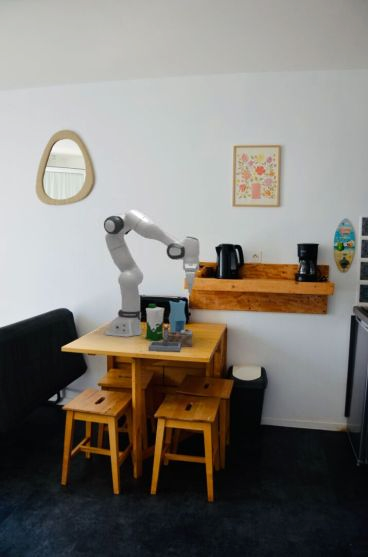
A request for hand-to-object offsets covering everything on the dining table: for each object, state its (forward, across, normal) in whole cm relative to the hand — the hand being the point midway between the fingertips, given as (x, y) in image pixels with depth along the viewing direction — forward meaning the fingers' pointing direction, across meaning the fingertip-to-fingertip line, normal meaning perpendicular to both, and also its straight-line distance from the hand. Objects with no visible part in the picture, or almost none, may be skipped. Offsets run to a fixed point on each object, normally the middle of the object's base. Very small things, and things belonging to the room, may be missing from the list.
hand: (190, 291), depth 227 cm
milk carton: (+29, -6, -20) cm, 36 cm away
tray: (+29, +14, -12) cm, 34 cm away
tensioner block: (+29, +4, -5) cm, 30 cm away
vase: (+29, -20, -8) cm, 36 cm away
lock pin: (+28, +14, -12) cm, 34 cm away
